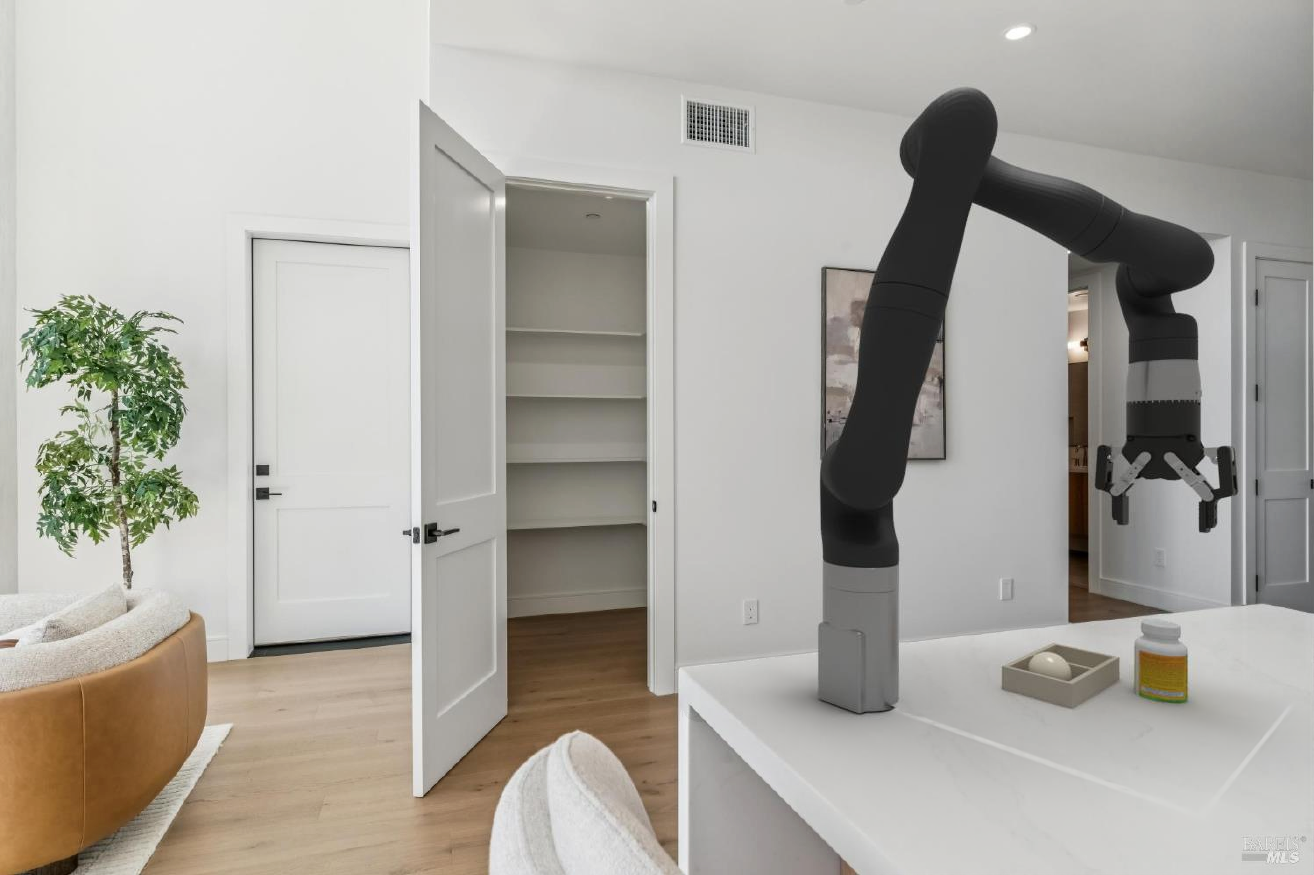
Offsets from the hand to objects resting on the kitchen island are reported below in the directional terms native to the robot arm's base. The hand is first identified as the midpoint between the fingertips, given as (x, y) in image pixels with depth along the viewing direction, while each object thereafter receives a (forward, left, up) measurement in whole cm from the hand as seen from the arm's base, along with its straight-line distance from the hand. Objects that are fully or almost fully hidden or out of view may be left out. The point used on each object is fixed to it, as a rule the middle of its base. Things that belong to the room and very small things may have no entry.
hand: (1162, 528), depth 86 cm
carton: (-6, +10, -22) cm, 24 cm away
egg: (-9, +10, -21) cm, 25 cm away
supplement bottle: (0, 0, -22) cm, 22 cm away
